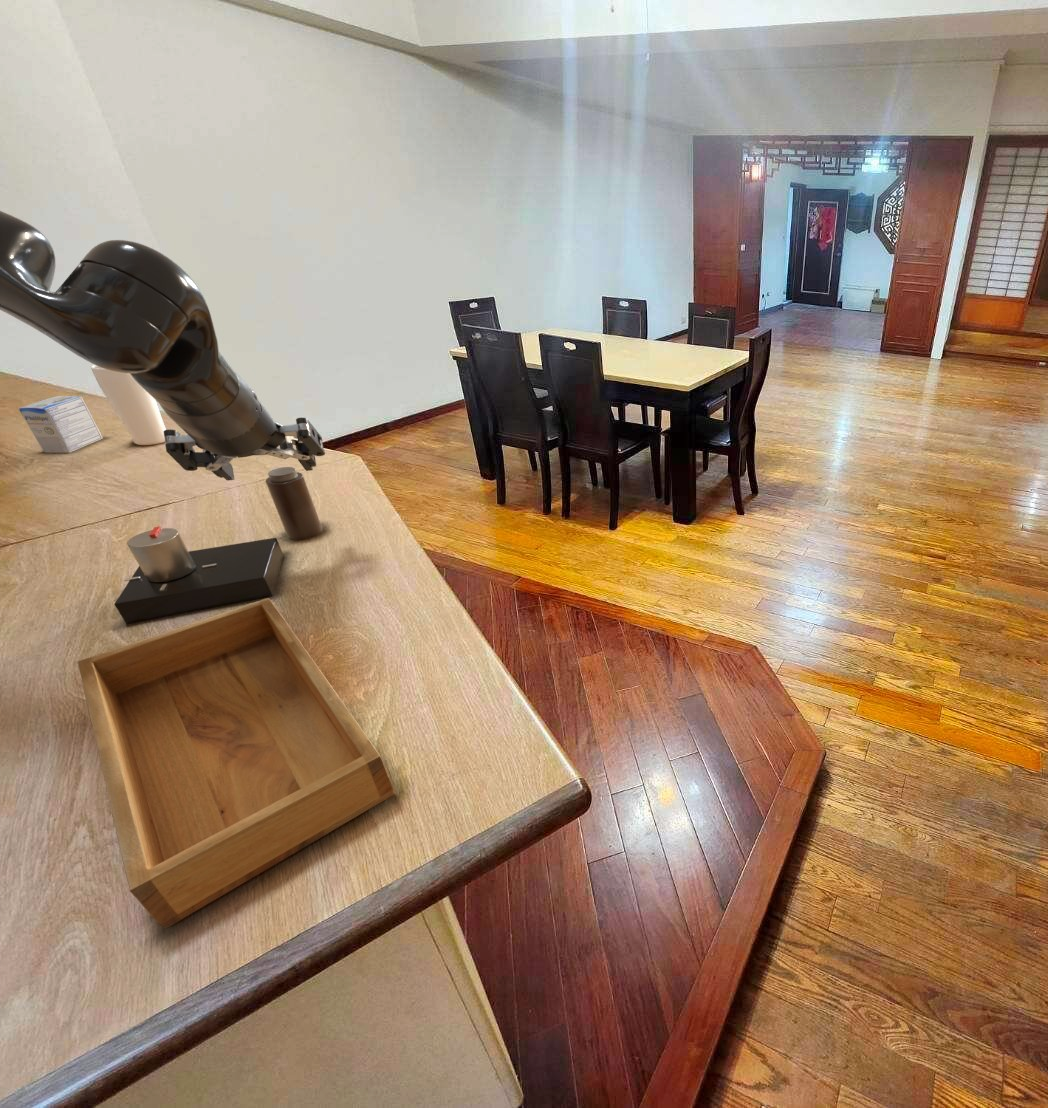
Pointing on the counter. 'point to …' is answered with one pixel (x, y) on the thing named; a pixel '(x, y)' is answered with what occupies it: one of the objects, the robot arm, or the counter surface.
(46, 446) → the medicine box
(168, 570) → the stove knob
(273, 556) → the stove panel
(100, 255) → the robot arm
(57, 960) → the counter surface
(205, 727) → the tray
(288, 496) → the pepper mill
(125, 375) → the white tall cup
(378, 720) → the counter surface
